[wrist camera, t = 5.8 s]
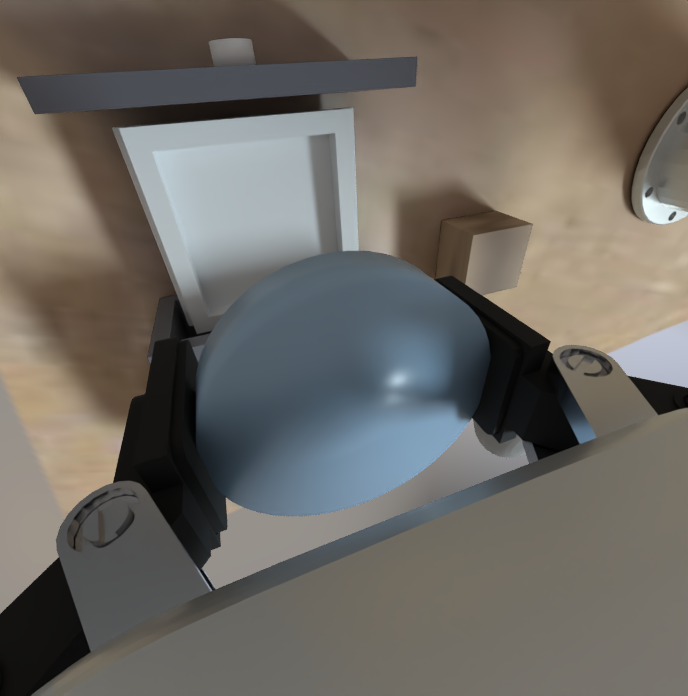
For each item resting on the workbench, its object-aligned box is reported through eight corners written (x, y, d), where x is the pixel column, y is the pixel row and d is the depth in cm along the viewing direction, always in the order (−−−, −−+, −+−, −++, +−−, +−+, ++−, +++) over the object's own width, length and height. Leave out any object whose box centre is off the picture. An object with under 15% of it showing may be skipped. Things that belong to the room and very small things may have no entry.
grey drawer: (364, 44, 19) (418, 24, 14) (368, 278, 27) (404, 314, 22) (58, 57, 15) (-5, 36, 11) (169, 319, 23) (162, 372, 19)
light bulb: (441, 370, 37) (505, 441, 29) (485, 355, 38) (558, 420, 30) (438, 405, 40) (495, 477, 32) (478, 391, 41) (543, 457, 33)
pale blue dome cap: (384, 177, 7) (427, 194, 5) (480, 369, 11) (516, 403, 10) (121, 393, 7) (106, 453, 6) (311, 494, 12) (325, 539, 10)
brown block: (495, 210, 28) (532, 224, 25) (484, 268, 31) (516, 287, 28) (441, 220, 27) (473, 235, 24) (435, 279, 30) (462, 299, 27)
